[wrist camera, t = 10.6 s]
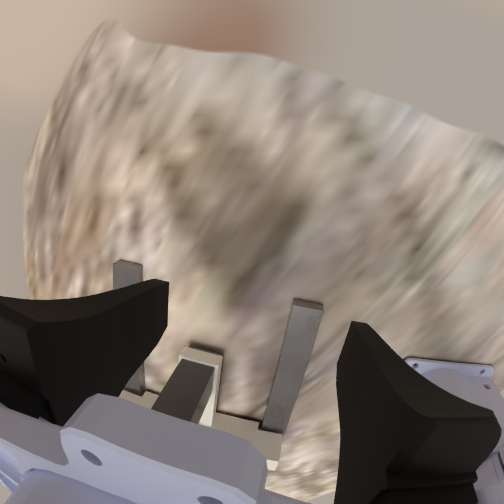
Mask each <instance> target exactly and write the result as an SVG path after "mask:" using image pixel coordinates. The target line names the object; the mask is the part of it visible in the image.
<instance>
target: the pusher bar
mask: <svg viewBox="0 0 504 504" xmlns="http://www.w3.org/2000/svg"><path fill="white" fill-rule="evenodd" d="M222 359H223V356H221V353H217V352H213V351H209V350H205V349H202V348H198V347H194V346H189V347H186V346H184V348H183V349H182V351H181V352H180V354H179V364H178V366H177V367H176V369H175V370H174V372H173V374H172V375H171V377H170V379H169V380H168V382H167V383H166V385H165V387H164V388H163V390H162V391H161V393H160V395H156V394H153V393H151V392H148V391H146V392H145V393H144V394H143V396H142V397H141V396H138V395H135V394H133V393H130V392H127V391H125V390H123V391H122V392H121V394H120V396H119V398H122V399H125V400H127V401H130V402H132V403H135V404H138V405H141V406H143V407H146V408H149V409H152V410H155V411H157V412H160V413H163V414H166V415H169V416H173V417H176V418H179V419H182V420H185V421H189V422H192V423H196V424H199V425H203V426H206V427H210V428H214V429H217V430H221V431H225V432H228V433H230V434H232V435H235V436H237V437H240V438H242V439H245V440H248V441H249V442H250V443H251V444H252V445H253V446H255V447H256V448H257V449H258V450H259V451H260V452H261V453H262V454H264V455H265V456H266V461H267V468H268V470H273V471H275V470H276V467H277V465H278V462H279V457H280V451H281V444H282V437H283V434H277V433H272V432H267V431H262V430H258V426H259V422H255V421H250V420H246V419H241V418H237V417H233V416H229V415H225V414H221V413H217V412H216V406H217V398H218V390H219V382H220V374H221V367H222Z"/></svg>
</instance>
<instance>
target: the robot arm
mask: <svg viewBox="0 0 504 504" xmlns="http://www.w3.org/2000/svg"><path fill="white" fill-rule="evenodd" d="M168 295H169V282H166V281H162V280H158V279H151V280H147V281H143V282H139V283H136V284H132V285H129V286H126V287H122V288H119V289H115V290H111V291H107V292H104V293H100V294H95V295H91V296H85V297H79V298H71V299H57V300H29V299H18V298H10V297H3V296H0V482H1V483H2V484H3V485H4V486H5V487H6V488H8V489H9V490H10V491H11V492H12V494H11V495H10V497H9V498H8V499H7V501H6V502H5V503H4V504H310V503H307V502H303V501H300V500H296V499H293V498H290V497H287V496H284V495H281V494H278V493H275V492H272V491H269V490H266V489H264V487H265V482H266V477H267V472H268V468H267V461H266V456H265V455H264V454H262V453H261V452H260V451H259V450H258V449H257V448H256V447H255V446H253V445H252V444H251V443H250V442H249V441H248V440H245V439H242V438H240V437H237V436H235V435H232V434H230V433H228V432H225V431H221V430H217V429H214V428H210V427H206V426H203V425H199V424H196V423H192V422H189V421H185V420H182V419H179V418H176V417H173V416H169V415H166V414H163V413H160V412H157V411H155V410H152V409H149V408H146V407H143V406H141V405H138V404H135V403H132V402H130V401H127V400H125V399H122V398H119V396H120V394H121V392H122V391H123V389H124V387H125V386H126V384H127V383H128V381H129V380H130V379H131V377H132V376H133V375H134V373H135V372H136V371H137V370H138V368H139V367H140V366H141V365H142V363H143V362H144V361H145V359H146V358H147V357H148V356H149V354H150V353H151V352H152V350H153V349H154V348H155V347H156V345H157V344H158V342H159V340H160V339H161V337H162V335H163V333H164V331H165V329H166V328H167V322H168ZM416 363H417V364H416ZM414 364H416V365H415V366H413V365H414ZM481 370H482V371H481ZM480 371H481V372H480ZM494 371H495V369H494V367H493V366H492V365H479V364H467V363H455V362H445V361H435V360H426V359H418V358H407V359H406V360H405V361H404V360H403V359H402V358H401V357H400V356H399V355H398V354H396V353H395V352H394V351H393V350H392V349H391V347H390V346H389V345H388V344H387V343H386V342H385V341H384V340H383V339H382V338H381V337H380V336H379V335H378V334H377V333H376V332H375V331H374V330H373V329H372V328H371V327H370V326H369V325H368V324H367V323H362V322H356V321H352V322H351V325H350V328H349V331H348V334H347V337H346V340H345V343H344V346H343V348H342V351H341V354H340V357H339V360H338V362H337V376H336V388H337V399H338V409H339V420H340V437H341V439H340V456H339V467H338V477H337V485H336V492H335V499H334V504H504V399H503V397H502V396H501V394H500V392H499V391H498V389H497V387H496V386H495V384H494V382H493V381H492V379H491V377H492V375H493V373H494Z"/></svg>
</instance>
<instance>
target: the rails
mask: <svg viewBox="0 0 504 504" xmlns="http://www.w3.org/2000/svg"><path fill="white" fill-rule="evenodd" d="M139 282H142V265H140V264H136V263H132V262H128V261H124V260H118V261H117V262H115V263H114V264H113V288H114V290H115V289H119V288H122V287H126V286H129V285H132V284H136V283H139ZM322 313H323V304H319V303H314V302H309V301H304V300H298V299H294V300H293V305H292V309H291V313H290V318H289V322H288V326H287V330H286V334H285V339H284V343H283V347H282V351H281V355H280V359H279V363H278V367H277V371H276V374H275V378H274V382H273V386H272V390H271V394H270V397H269V401H268V405H267V408H266V412H265V416H264V419H263V423H262V426H261V430H262V431H267V432H272V433H277V434H283V435H284V432H285V429H286V426H287V424H288V421H289V418H290V415H291V412H292V409H293V407H294V404H295V401H296V398H297V395H298V392H299V389H300V386H301V383H302V379H303V376H304V373H305V370H306V367H307V364H308V360H309V357H310V354H311V351H312V347H313V344H314V341H315V337H316V334H317V330H318V327H319V323H320V320H321V316H322ZM123 390H125V391H127V392H130V393H133V394H135V395H138V396H141V397H142V396H143V394H144V393H145V383H144V366H143V363H142V365H141V366H140V367H139V368H138V370H137V371H136V372H135V373H134V375H133V376H132V377H131V379H130V380H129V381H128V383H127V384H126V386H125V387H124V389H123Z"/></svg>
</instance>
